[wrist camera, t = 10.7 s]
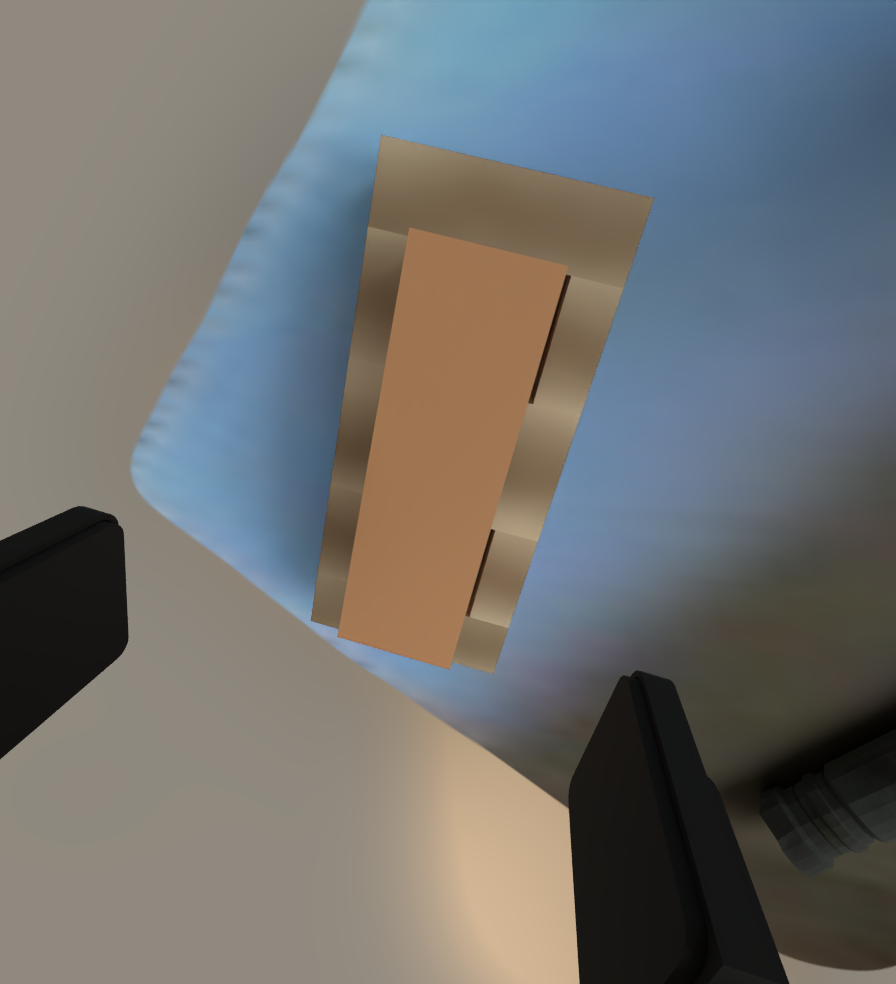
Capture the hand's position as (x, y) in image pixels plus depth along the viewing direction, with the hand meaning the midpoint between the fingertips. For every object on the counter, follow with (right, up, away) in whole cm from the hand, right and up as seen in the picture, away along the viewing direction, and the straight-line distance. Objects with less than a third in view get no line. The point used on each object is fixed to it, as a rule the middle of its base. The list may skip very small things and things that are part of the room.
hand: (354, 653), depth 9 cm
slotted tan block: (+2, +6, +16) cm, 18 cm away
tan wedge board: (+2, +6, +16) cm, 18 cm away
